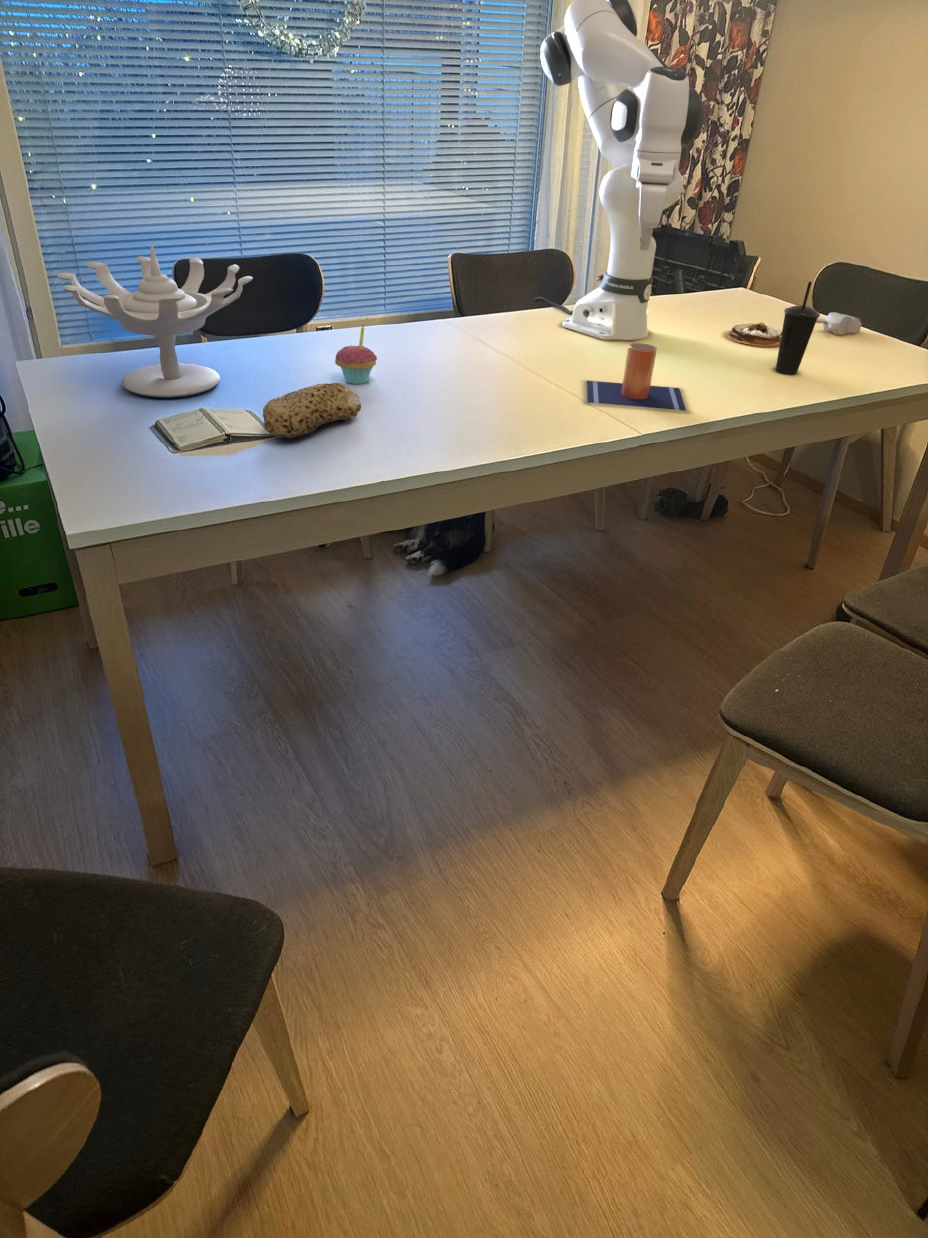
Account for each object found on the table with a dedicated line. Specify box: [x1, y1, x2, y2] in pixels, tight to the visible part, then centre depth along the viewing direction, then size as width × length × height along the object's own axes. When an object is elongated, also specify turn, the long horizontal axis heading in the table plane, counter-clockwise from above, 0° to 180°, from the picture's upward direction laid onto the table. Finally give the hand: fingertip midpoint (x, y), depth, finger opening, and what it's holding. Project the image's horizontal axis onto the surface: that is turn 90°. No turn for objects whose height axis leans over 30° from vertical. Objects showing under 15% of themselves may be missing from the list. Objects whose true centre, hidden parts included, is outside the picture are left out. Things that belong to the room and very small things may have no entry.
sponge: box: [262, 382, 362, 439], centre depth 151 cm, size 13×8×20 cm
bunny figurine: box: [815, 311, 863, 336], centre depth 226 cm, size 10×5×15 cm
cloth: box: [586, 380, 687, 412], centre depth 176 cm, size 20×14×1 cm
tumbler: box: [621, 342, 658, 400], centre depth 173 cm, size 6×6×10 cm
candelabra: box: [56, 241, 254, 399], centre depth 161 cm, size 34×35×27 cm
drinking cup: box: [775, 281, 821, 376], centre depth 190 cm, size 8×8×20 cm
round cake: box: [725, 322, 782, 347], centre depth 217 cm, size 15×15×4 cm
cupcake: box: [334, 323, 378, 385], centre depth 172 cm, size 9×8×12 cm
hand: (643, 245), depth 168 cm, fingers open, 8 cm apart
